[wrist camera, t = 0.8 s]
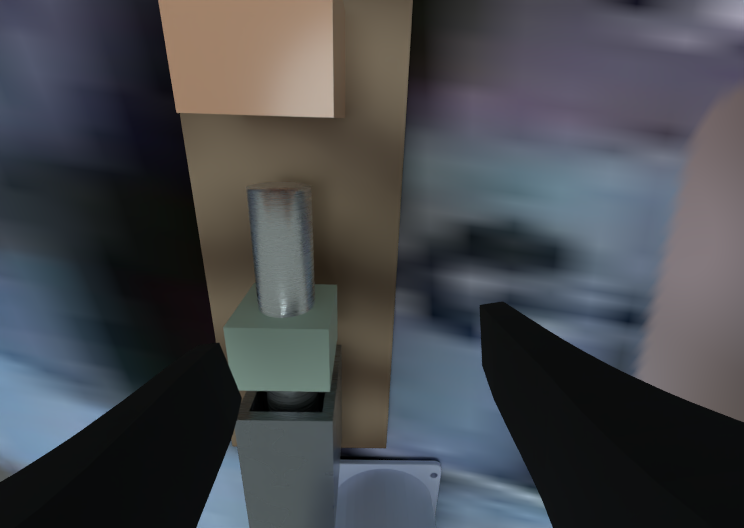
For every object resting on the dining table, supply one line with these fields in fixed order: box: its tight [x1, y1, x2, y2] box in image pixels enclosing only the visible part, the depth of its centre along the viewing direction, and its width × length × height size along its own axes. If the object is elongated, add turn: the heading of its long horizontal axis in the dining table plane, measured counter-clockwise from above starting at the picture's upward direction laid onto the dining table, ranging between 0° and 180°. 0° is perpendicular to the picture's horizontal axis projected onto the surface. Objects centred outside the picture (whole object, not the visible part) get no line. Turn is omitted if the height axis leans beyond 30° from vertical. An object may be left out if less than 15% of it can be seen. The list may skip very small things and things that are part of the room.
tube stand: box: [158, 0, 413, 528], centre depth 17 cm, size 24×10×7 cm, turn 178°
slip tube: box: [223, 182, 338, 412], centre depth 17 cm, size 16×4×4 cm, turn 178°
